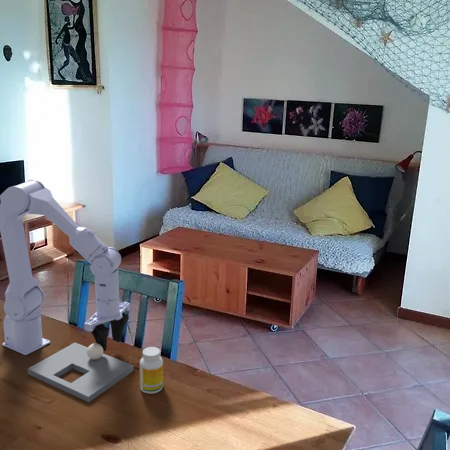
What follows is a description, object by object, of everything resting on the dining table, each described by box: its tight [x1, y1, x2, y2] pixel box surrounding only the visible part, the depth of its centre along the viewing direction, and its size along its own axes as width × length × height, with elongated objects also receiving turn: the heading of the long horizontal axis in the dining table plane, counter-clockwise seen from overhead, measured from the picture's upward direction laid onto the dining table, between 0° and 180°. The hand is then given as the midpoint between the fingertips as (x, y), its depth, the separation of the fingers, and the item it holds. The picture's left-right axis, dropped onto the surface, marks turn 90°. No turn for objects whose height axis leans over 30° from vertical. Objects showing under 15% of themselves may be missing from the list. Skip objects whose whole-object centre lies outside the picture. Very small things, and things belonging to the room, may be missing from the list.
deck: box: [27, 342, 134, 403], centre depth 123 cm, size 20×15×2 cm
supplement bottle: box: [139, 346, 164, 395], centre depth 117 cm, size 5×5×10 cm
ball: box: [87, 342, 104, 360], centre depth 126 cm, size 4×4×4 cm
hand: (109, 345), depth 130 cm, fingers open, 5 cm apart
